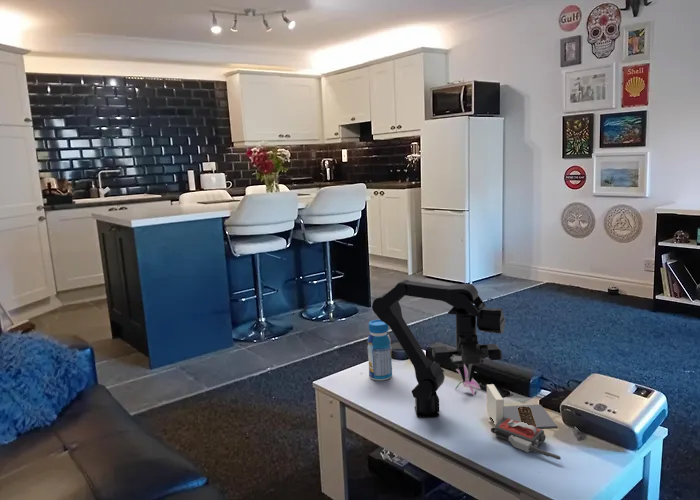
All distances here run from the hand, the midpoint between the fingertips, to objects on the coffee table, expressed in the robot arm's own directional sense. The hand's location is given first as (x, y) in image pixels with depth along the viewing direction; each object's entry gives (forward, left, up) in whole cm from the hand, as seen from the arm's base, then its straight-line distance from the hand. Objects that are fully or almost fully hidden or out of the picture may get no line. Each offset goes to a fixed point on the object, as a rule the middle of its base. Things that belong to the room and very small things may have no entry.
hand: (466, 381), depth 154 cm
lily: (+4, +19, -12) cm, 23 cm away
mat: (+17, 0, -12) cm, 20 cm away
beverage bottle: (-23, +34, -12) cm, 43 cm away
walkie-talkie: (+13, -14, -12) cm, 23 cm away
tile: (+8, 0, -12) cm, 15 cm away
